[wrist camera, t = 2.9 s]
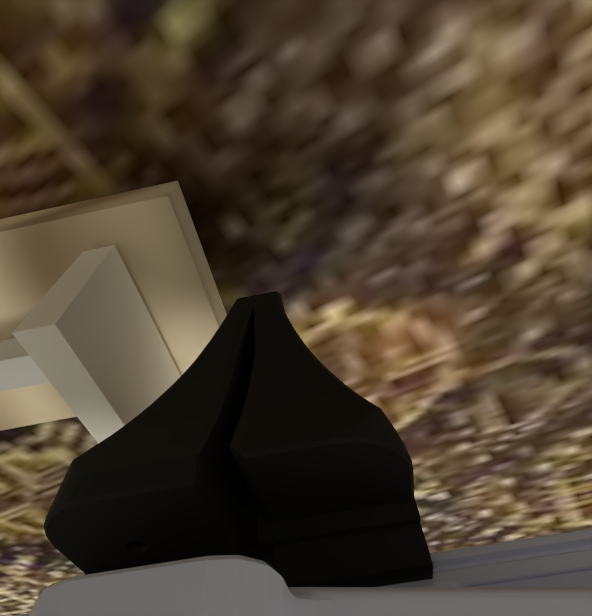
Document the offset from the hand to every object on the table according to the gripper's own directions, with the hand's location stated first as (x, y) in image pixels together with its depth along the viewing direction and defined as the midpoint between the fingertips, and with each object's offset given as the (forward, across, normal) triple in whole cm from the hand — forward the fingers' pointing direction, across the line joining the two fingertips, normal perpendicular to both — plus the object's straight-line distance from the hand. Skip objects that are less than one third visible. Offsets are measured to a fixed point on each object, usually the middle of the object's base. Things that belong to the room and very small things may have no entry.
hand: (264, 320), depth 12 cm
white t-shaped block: (+1, +8, 0) cm, 8 cm away
